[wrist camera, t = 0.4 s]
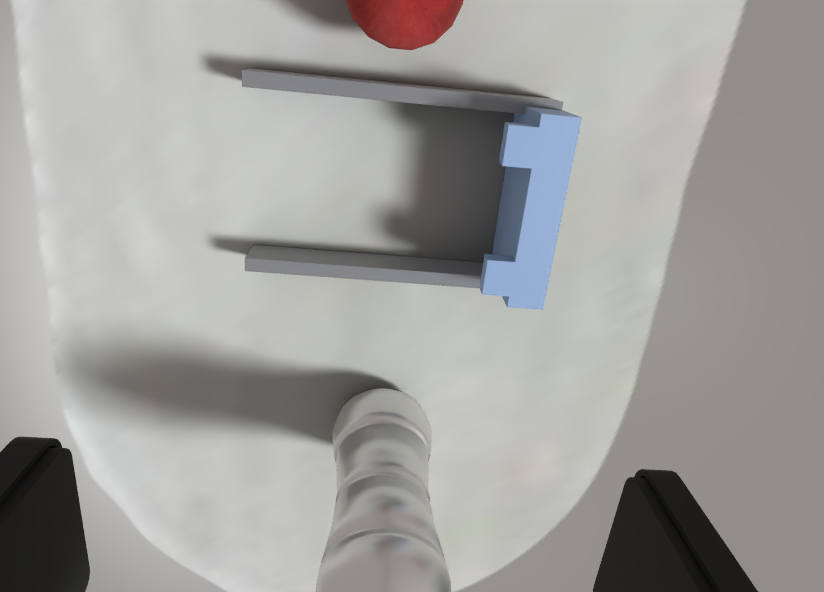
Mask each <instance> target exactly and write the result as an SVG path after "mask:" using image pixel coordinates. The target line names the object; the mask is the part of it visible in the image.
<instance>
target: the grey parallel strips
mask: <svg viewBox="0 0 824 592" xmlns="http://www.w3.org/2000/svg"><path fill="white" fill-rule="evenodd" d="M242 87H251V88H261V89H272V90H282V91H292V92H302V93H312V94H323V95H333V96H343V97H353V98H364V99H374V100H384V101H394V102H405V103H415V104H425V105H435V106H445V107H456V108H466V109H476V110H486V111H497V112H507V113H517V114H524V113H525V107H536V108H546V109H556V110H562V106H563V102H561V101H558V100H555V99H552V98H543V97H533V96H523V95H513V94H503V93H493V92H483V91H473V90H464V89H454V88H444V87H434V86H424V85H414V84H404V83H394V82H384V81H374V80H364V79H354V78H344V77H334V76H324V75H314V74H304V73H294V72H284V71H274V70H264V69H254V68H251V69H246V70H242ZM482 268H483V262H472V261H459V260H446V259H433V258H420V257H407V256H394V255H381V254H368V253H355V252H342V251H330V250H317V249H304V248H291V247H278V246H265V245H253V246H252V248H251V249H250V251H249V253H248V254H247V256H246V257H245V271H253V272H266V273H280V274H293V275H307V276H320V277H334V278H348V279H361V280H375V281H388V282H402V283H415V284H429V285H442V286H456V287H469V288H480V281H481V275H482Z"/></svg>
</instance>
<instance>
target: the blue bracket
mask: <svg viewBox="0 0 824 592" xmlns="http://www.w3.org/2000/svg"><path fill="white" fill-rule="evenodd" d="M581 119H582V118H581V117H579V116H576V115H573V114H571V113H568V112H565V111H563V110H556V109H546V108H536V107H525V113H524V114H517V113H514V118H513V123H509V122H505V125H504V132H503V138H502V145H501V151H500V158H499V163H500V164H501V165H502V166H506V168H505V174H504V180H503V187H502V193H501V199H500V206H499V212H498V218H497V225H496V231H495V237H494V243H493V250H492V254H485V255H484V262H483V268H482V275H481V281H480V290H481V293H482V295H496V296H502V297H503V299H504V301H505V303H506V306H507V307H511V308H525V309H539V310H543V306H544V301H545V296H546V291H547V286H548V281H549V276H550V271H551V267H552V262H553V257H554V252H555V247H556V242H557V237H558V232H559V227H560V222H561V217H562V212H563V207H564V203H565V198H566V193H567V188H568V183H569V178H570V173H571V168H572V163H573V158H574V153H575V148H576V144H577V139H578V134H579V129H580V124H581Z"/></svg>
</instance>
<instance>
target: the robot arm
mask: <svg viewBox="0 0 824 592" xmlns="http://www.w3.org/2000/svg"><path fill="white" fill-rule="evenodd" d="M89 574H90V567H89V561H88V554H87V548H86V542H85V536H84V529H83V523H82V516H81V510H80V504H79V497H78V491H77V485H76V478H75V472H74V465H73V459H72V454H71V452H70V450H69V449H67V448H62V446H61V443H60V442H59V440H57V439H54V438H36V437H17V438H14V439H13V440H12V441H11V442H10V443H9V444H8V445H7V446H6V447H5V448H4V449H3V450H2V451H1V452H0V592H85V590H86V588H87V585H88V581H89ZM593 592H758V591H757V590H756V588H755V587H754V585H753V584H752V582H751V581H750V579H749V578H748V576H747V575H746V573H745V572H744V571H743V569H742V568H741V566H740V565H739V563H738V562H737V560H736V559H735V557H734V556H733V555H732V553H731V552H730V550H729V549H728V547H727V546H726V544H725V543H724V541H723V540H722V538H721V537H720V535H719V534H718V533H717V531H716V530H715V528H714V527H713V525H712V524H711V523H710V521H709V519H708V518H707V516H706V515H705V513H704V512H703V511H702V509H701V507H700V506H699V505H698V503H697V502H696V500H695V499H694V498H693V496H692V494H691V493H690V491H689V490H688V489H687V487H686V486H685V484H684V483H683V481H682V480H681V478H680V477H679V476H678V475H677V473H675V472H673V471H665V470H645V469H642V470H639V471H638V472H637V473H636V474H635V477H630V478H628V479H627V480H626V482H625V485H624V488H623V492H622V495H621V498H620V501H619V505H618V508H617V511H616V515H615V518H614V522H613V525H612V528H611V531H610V534H609V538H608V541H607V544H606V548H605V551H604V554H603V557H602V561H601V564H600V567H599V571H598V574H597V577H596V581H595V584H594V588H593Z"/></svg>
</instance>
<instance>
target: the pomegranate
mask: <svg viewBox="0 0 824 592" xmlns="http://www.w3.org/2000/svg"><path fill="white" fill-rule="evenodd" d="M346 2H347V4H348V7H349V10H350V13H351V16H352V18H353V20H354V21H355V22H356V23H357V24H358V25H359V27H360V28H361V29H362V30H363V31H364V32H365V34H366V35H367V36H368V37H370V38H371V39H373V40H375V41H377V42H379V43H381V44H383V45H384V46H386V47H388V48H395V49H405V50H414V49H417V48H420V47H423V46H426V45H429V44H432V43H434V42H435V41H436V40H437V39H439V38H440V37H441V36H442V35H443V34H444V33H445V32H446V31H447V30H448V29H449V28H450V27H451V26H452V25H453V23H454V21H455V19H456V17H457V15H458V13H459V11H460V9H461V6H462V4H463V0H346Z"/></svg>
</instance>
